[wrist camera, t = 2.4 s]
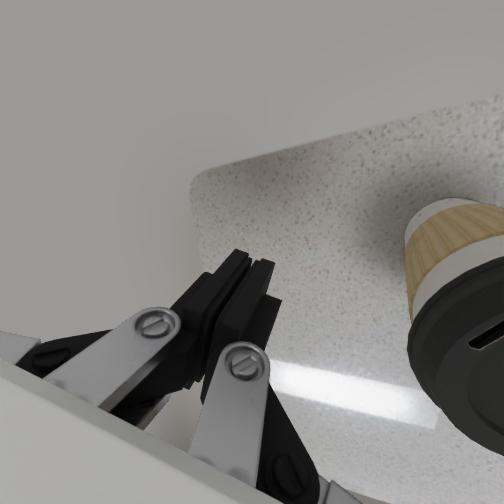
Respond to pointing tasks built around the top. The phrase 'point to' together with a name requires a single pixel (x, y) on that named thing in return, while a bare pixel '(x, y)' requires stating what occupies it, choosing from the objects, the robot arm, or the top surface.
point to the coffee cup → (459, 313)
